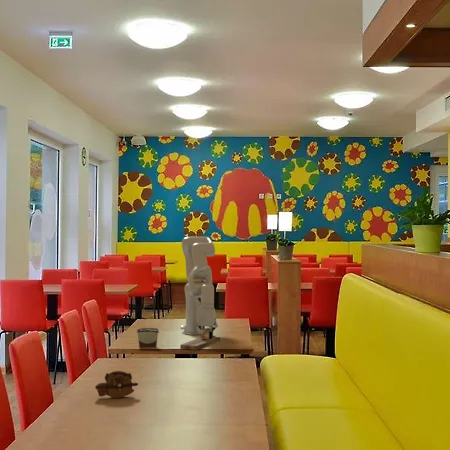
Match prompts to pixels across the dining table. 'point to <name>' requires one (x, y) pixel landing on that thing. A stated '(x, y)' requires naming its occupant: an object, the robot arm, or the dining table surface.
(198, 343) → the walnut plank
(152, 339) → the food container
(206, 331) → the beige rectangular block
